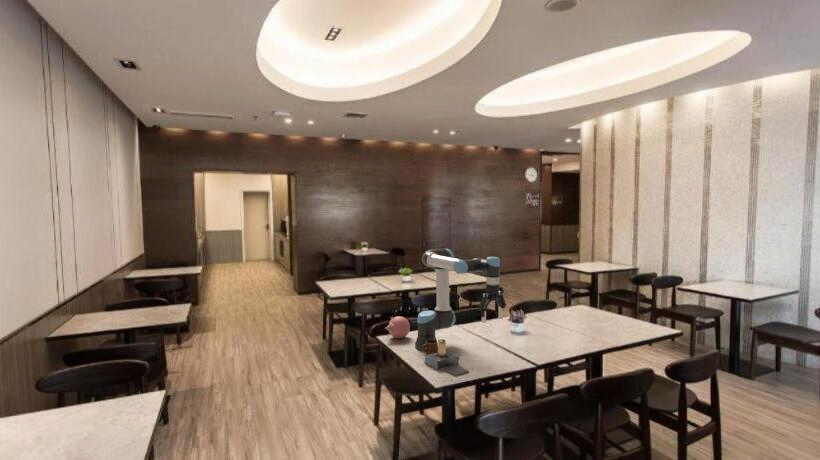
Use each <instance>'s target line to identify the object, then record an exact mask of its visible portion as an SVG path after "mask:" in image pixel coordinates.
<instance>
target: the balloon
mask: <svg viewBox="0 0 820 460" xmlns="http://www.w3.org/2000/svg"><path fill="white" fill-rule="evenodd" d="M384 329H385V330H387V331H388V333H389V335H390V336H391V337H393V338H395V339H399V340H400V339H403V338H405V337H406V336H408V334H409V332H410V329H411V325H410V322H409V320H408V319H407V318H406V317H404V316H400V315H399V316H395V317H392V319H390V321H389V322H388V325H387V326H386V327H385V328H384Z"/></svg>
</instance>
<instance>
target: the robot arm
mask: <svg viewBox="0 0 820 460" xmlns="http://www.w3.org/2000/svg"><path fill="white" fill-rule="evenodd" d="M421 262H422V264H423V265H424V266H426V267H428V268H433V270H434V271H435V279H436V280H435V282H436V289H435V290H436V292H435V293H436V306H435V308H434V310H424V311H423V310H422V311H420V312H419V313H418V315H417V337H416V341H415V342H414V347H415V349H416V350H418V351H421V352H423V351H422V345H423V344H425V342H426V340H436V341H437V344H438V340H437V337H436V331H440V330H445V329H449V328H451V327H453V326H454V325H455V323H456V314H455V311H454V310H453V309H452V307H451V306H450V274H449V273H450V271H453V272H455V273H456V274H458V275H459V274H460V275H461V274H462V275H464V274H469V273H478V272H479V273H481V272H482V273H486V274H485V278H486V279H485V284H486V285H485V290H486V293H482V294H481V295H482V297H481V300H480V303H479V305H478V309H477V310H478V311H480V317H481V322H482V323H484V324H486V323H487V311H486V310H487V309H488V308H487V307H488V306H489V304H490V303H491V302H492V301H495V302H496V303H497V305H498V313H497V314H498V317H497V319H498V320H499V319H500V320H503V319H504V317H503V315H504V309H505V308H506V307H507V303H506V300H505V297H504V292H503V291H502V290H500V274H501V271H500V270H501V267H500V266H501V262H500V257H498V256H487V257H486V259H485V258H481V257H475V258H472V259H461V258H455V254H454V253H453V252H452V250H451V249H450V248H435V249H433V248H431V249H428V250H426V251H424V253H423V254H422V257H421ZM424 349H425V347H424Z"/></svg>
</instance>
